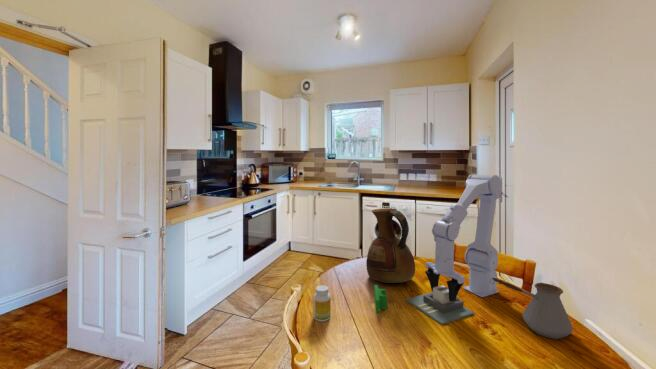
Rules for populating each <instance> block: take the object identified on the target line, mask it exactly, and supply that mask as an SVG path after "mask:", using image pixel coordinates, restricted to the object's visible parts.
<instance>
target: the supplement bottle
mask: <svg viewBox="0 0 656 369" xmlns="http://www.w3.org/2000/svg"><path fill="white" fill-rule="evenodd" d="M331 303H332V302H331V294H330V293H329V286H327V285H322V284H321V285H318V286H316V287H315V293H314V294H313V318H314V320H315V321H317V322H326V321H328V320H330V318H331V313H332V312H331V308H332V307H331Z"/></svg>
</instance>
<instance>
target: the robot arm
mask: <svg viewBox="0 0 656 369" xmlns="http://www.w3.org/2000/svg"><path fill="white" fill-rule="evenodd" d="M501 189H502V180H501V178H500V177H499V176H498V175H497V174H493V175H492V174H475V173H471V174H470V175H468V177H467V178H466V180H465V189H464V190H463V192H462V194H461V196H460V197H459V200H458V201H457V203H454V204H451V205H450V206H449V208H448V210H447V211H446V212H445V214H444V215H443V216H442V218H441V219H439V220H437V221H435V222H434V224H433V226H432V228H431V234H432V235H433V240H434V242H435V251H434V254H435V257H434V263H433V262H431V261H429V262H425V269H427V270H425V275H426V277H427V279H428V281H429V285H430V290H431V292H433V287H437V286H439V280H440V276H441V275H442V276H444V277H447V278H449V279H451V280H447V281H446V285H447V287H448V289H449V301H450V302H453V301H455V300H456V297H457V296H458V293H459V291H460V290H461V288H462V287H463V290H466V291H468V292H470V293H472V294H474V295H476V296H478V297H480V298H485V297H488V296H491V295H494V294H497V293H499V290H498V289H497V288H498V282H496V281H495V282H494V280H493V279H491V278H496V279H498V274H497V271H496V269H497V267H498V265H499V258H498V250H497V249H496V247H494V245H492V244H491V243H492V234H493V226H494V220H495V212H496V205H497V200H498V199H500V197H501V191H502V190H501ZM477 198H478V199H479V208H478V215H477V216H478V217H477V222H476V229H475V230H476V231H475V237H474V238H475V239H474V241H473V242H470V243H469V244H467V248H466V251H465V253H464V260H465V262H466V263H467V266H468V267H469V272H468V274H469V276H468V277H469V279H468V285H467V286H466V285H465V286H463V285H464V284H465V276H464V275H462V274H460V273H458V272H457V271H456V270H454V263H455V261H454V260H455V258H454V257H455V240H456V239H457V238H458V236H459V233H460V229H461V224H462V223H463V221H465V218H466V217H467V216H468V210H467V209H468V208H469V207H470V205H471V204H473V202H474V201H475V200H476V199H477ZM490 279H491V281H490ZM490 282H491V284H490ZM493 283H494V284H493Z"/></svg>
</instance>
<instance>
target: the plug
mask: <svg viewBox="0 0 656 369" xmlns="http://www.w3.org/2000/svg"><path fill="white" fill-rule="evenodd" d="M433 299H434V300H436V301H438V302H439V303H441V304H443V305H445V304H449V303H452V302H450V301H449V289H448V286H445V285H438V286H437V287H433Z"/></svg>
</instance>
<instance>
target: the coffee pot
mask: <svg viewBox="0 0 656 369" xmlns="http://www.w3.org/2000/svg"><path fill="white" fill-rule="evenodd" d="M491 279H493V280H494V282H495V281H496V282H497V283H498V284H499V285H503V286H505V287H506V288H508V289H511V290H513V291H516V292H519V293H522V294H524V295H526V296H528V297H531V300H530V302H529V304H527V306H526V308H525V309H524V310H523V312H522V313H521V314H522V320H524V322H525V324H526V325H527V326H528V327H529V328H530V329H531V330H532V331H533V332H535V333H536V334H538V335H540V336H542V337H545V338H550V339H555V340H556V339H558V340H559V339H563V338H565V337H568V336H569V335H571V333H572V332H573V331H574V330H573V329H574V327H573V325H572V322H571V320H570V318H569V315H568V313H567V311H566V309H565V307H564V304H563V301H562V299H561V295H562V294H563V293H564V290H563V289H562V288H561V287H559V286H557V285H554V284H550V283H546V282H545V283H544V282H536V283H535V284H534V288H536V293H535V294H533V293H531V292H528V291H526V290H523V289H522V288H520V287H517V286H515V285H513V284H512V283H509V282H507V281H503V280H502V279H498V278H497V279H496V278H491ZM491 279H490V281H491ZM490 284H491V282H490ZM493 284H494V283H493Z"/></svg>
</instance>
